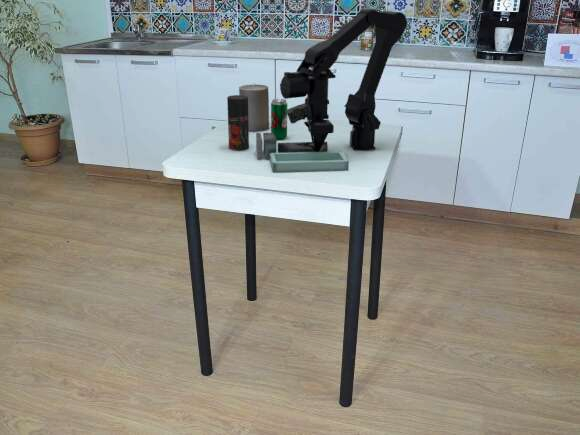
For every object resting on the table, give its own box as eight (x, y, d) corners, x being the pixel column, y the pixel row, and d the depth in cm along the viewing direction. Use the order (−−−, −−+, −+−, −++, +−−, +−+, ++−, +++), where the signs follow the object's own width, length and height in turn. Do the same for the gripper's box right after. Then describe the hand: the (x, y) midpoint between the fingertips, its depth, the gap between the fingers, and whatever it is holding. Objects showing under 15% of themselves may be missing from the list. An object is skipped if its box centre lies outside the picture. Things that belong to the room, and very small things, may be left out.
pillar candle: (268, 124, 189) (268, 80, 183) (269, 131, 180) (268, 85, 174) (240, 125, 189) (238, 80, 183) (239, 132, 180) (238, 85, 174)
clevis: (273, 151, 160) (273, 132, 158) (276, 159, 153) (276, 140, 151) (256, 151, 160) (256, 132, 158) (258, 159, 153) (257, 140, 150)
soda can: (285, 140, 171) (285, 102, 166) (269, 139, 172) (269, 101, 167) (288, 136, 175) (289, 98, 171) (273, 135, 176) (273, 97, 171)
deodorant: (253, 148, 163) (252, 97, 157) (238, 152, 159) (236, 100, 153) (239, 144, 167) (238, 94, 161) (224, 147, 163) (222, 97, 157)
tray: (341, 159, 153) (341, 151, 152) (348, 170, 145) (348, 161, 144) (269, 161, 151) (269, 153, 150) (272, 172, 143) (272, 163, 142)
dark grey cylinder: (325, 151, 160) (325, 139, 159) (327, 155, 157) (327, 143, 156) (277, 152, 159) (277, 141, 157) (278, 156, 156) (278, 145, 154)
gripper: (284, 89, 159) (284, 141, 165) (292, 103, 142) (292, 160, 148) (322, 88, 160) (321, 140, 167) (335, 102, 143) (332, 159, 150)
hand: (316, 149), depth 158 cm, fingers closed on dark grey cylinder, 3 cm apart
